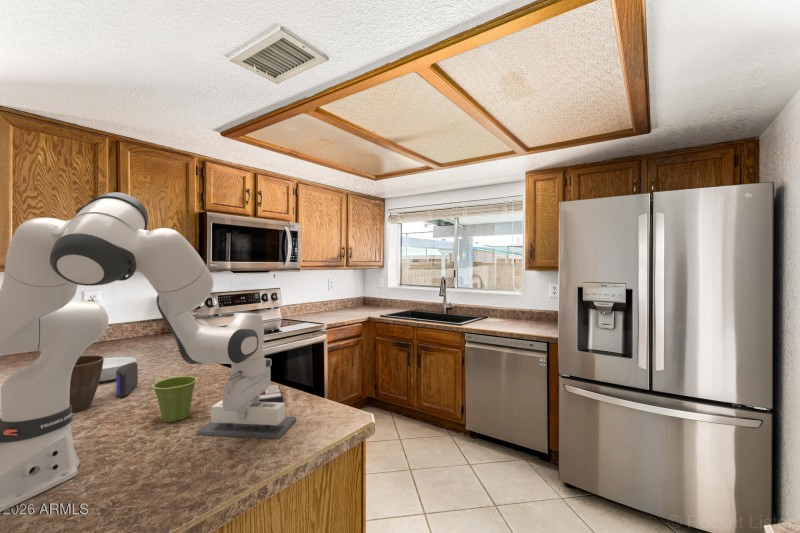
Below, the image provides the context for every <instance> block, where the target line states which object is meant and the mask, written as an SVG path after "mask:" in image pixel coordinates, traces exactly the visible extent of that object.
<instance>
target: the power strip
mask: <svg viewBox="0 0 800 533" xmlns="http://www.w3.org/2000/svg"><path fill="white" fill-rule="evenodd" d="M267 406H270V407H267ZM244 410H245V412H247V417H246V418H245V419H244V420H239V419H238V413H237V411H226V410H224V408H223V399H222V400H219V401H217V402H216V403H214V404H212V405H211V406H210V416H211V417H210V422H216V423H238V424H259V425H279V424H280V423H281V422H282V421H283V420H284V419H285V417H286V402H283V403H279V402H253V401H249V402H247V403H246V404H245V408H244Z"/></svg>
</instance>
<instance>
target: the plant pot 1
mask: <svg viewBox="0 0 800 533" xmlns="http://www.w3.org/2000/svg"><path fill="white" fill-rule="evenodd" d="M104 358H105V357H104V356H102V355H95V354H94V355H81V356H80V357H79V358H78V360H77V362H76V364H75V366H74V368H73V371H72V375H71V382H70V404H71V405H72V414H75V413H79V412H82V411H85V410H88V409H89V408H90V407H91V404H92V403H93V400H94V397H95V394H96V393H97V390H98V387H99V384H100V382H99V380H100V376H101V372H102V367H103V361H104Z"/></svg>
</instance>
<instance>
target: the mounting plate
mask: <svg viewBox="0 0 800 533" xmlns="http://www.w3.org/2000/svg"><path fill="white" fill-rule="evenodd" d="M267 407H270V406H267ZM296 421H297V416H285V419H284V420H283V421H282V422H281V423H280V424H279V425H259V424H238V423H216V422H211V421H209V422H207V423H206V424H205V425H203V426H202V427H200V428H199V429H197V430H196V432H195V433H196V436H211V437H212V436H214V437H215V436H216V437H230V438H231V437H234V438H235V437H236V438H251V439H255V438H256V439H271V440H272V439H273V440H274V439H276V440H279V439H280V438H281V437H282V436H283V435H284V434H285V433H286V432H287V431H288V430H289V429H290V428H291V427H292V426H293V424H294V423H295V422H296Z"/></svg>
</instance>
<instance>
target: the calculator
mask: <svg viewBox="0 0 800 533" xmlns="http://www.w3.org/2000/svg"><path fill="white" fill-rule="evenodd" d="M250 401H252V400H250ZM259 402H279V403H284V397H283V393H282V390H281V388H280V385H278V384H274V385H272V384H271V385H269V388H268V389H266V390H265V391H263V392H262V393H260V399H259Z"/></svg>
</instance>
